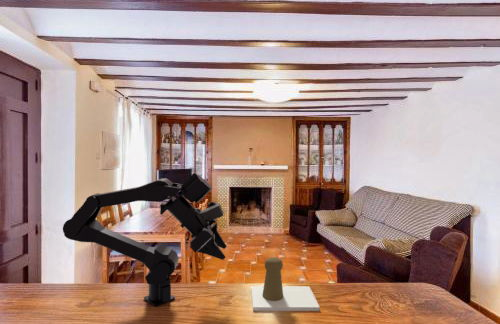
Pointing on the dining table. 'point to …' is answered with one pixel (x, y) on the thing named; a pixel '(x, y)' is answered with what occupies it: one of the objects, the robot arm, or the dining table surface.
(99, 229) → the robot arm
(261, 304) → the white board
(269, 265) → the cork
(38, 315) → the dining table surface
